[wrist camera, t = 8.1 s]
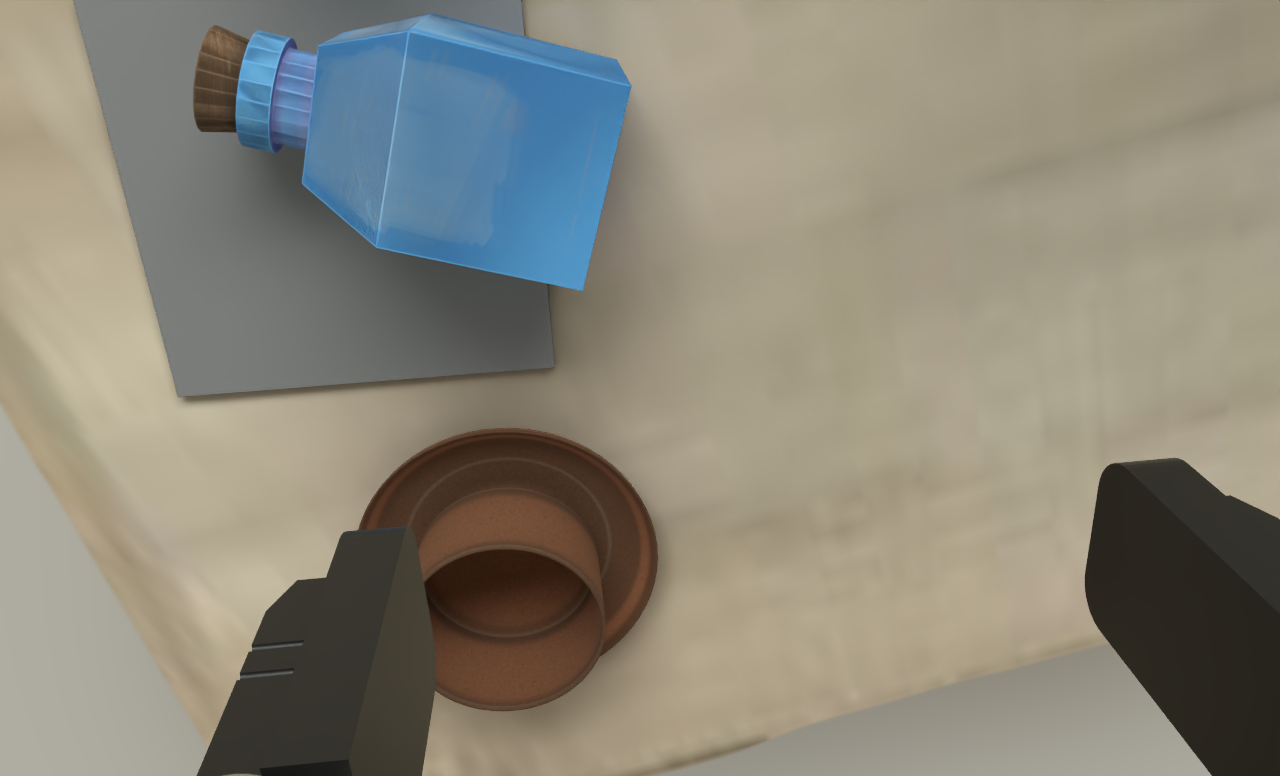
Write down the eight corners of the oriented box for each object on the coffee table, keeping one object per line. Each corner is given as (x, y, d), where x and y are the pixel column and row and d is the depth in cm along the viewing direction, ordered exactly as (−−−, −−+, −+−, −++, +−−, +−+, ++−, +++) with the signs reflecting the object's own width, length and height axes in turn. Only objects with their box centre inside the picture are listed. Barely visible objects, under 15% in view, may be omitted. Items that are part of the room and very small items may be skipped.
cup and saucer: (501, 698, 45) (495, 806, 40) (299, 532, 41) (261, 627, 35) (710, 545, 43) (734, 638, 37) (519, 351, 39) (515, 422, 33)
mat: (518, -31, 33) (517, -31, 33) (554, 363, 39) (554, 367, 38) (76, -7, 32) (71, -6, 32) (181, 392, 38) (178, 396, 38)
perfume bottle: (582, 290, 31) (168, 204, 29) (576, 234, 36) (230, 159, 34) (631, 85, 28) (183, -26, 26) (616, 59, 34) (247, -34, 32)
